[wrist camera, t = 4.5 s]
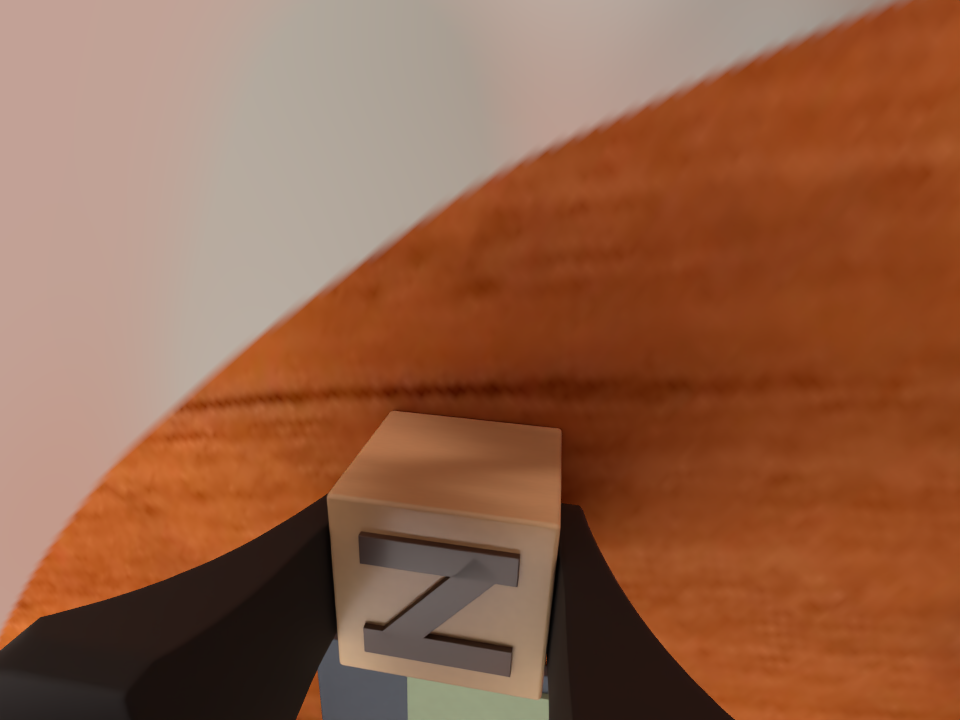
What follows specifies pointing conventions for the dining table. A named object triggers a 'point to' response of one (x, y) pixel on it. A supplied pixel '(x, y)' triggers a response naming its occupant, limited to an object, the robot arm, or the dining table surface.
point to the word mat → (413, 697)
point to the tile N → (449, 551)
